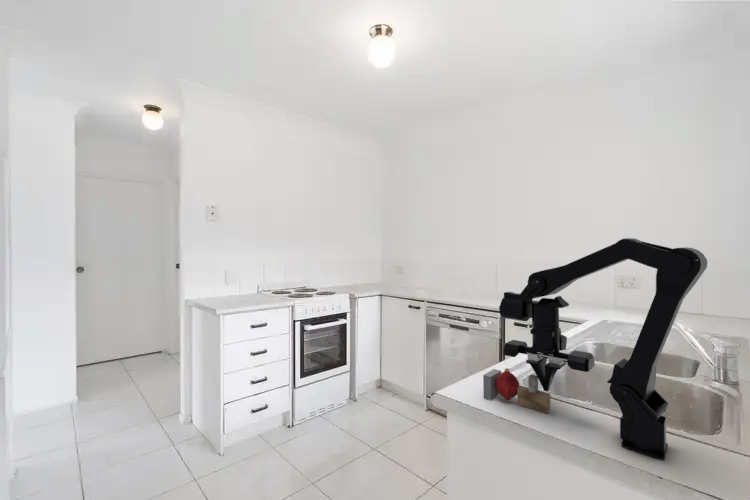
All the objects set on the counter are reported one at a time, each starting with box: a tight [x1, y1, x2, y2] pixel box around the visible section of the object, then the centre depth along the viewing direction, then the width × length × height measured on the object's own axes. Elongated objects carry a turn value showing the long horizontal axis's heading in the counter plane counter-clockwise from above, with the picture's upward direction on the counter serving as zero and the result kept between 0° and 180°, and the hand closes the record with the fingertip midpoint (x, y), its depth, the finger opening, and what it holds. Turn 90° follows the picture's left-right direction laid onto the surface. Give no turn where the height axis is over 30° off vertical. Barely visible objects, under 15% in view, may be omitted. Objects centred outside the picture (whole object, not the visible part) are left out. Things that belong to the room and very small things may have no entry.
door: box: [516, 374, 551, 414], centre depth 84 cm, size 7×2×8 cm, turn 46°
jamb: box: [482, 368, 502, 401], centre depth 92 cm, size 2×6×6 cm, turn 136°
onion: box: [495, 367, 521, 401], centre depth 89 cm, size 6×6×8 cm
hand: (546, 390), depth 82 cm, fingers closed
